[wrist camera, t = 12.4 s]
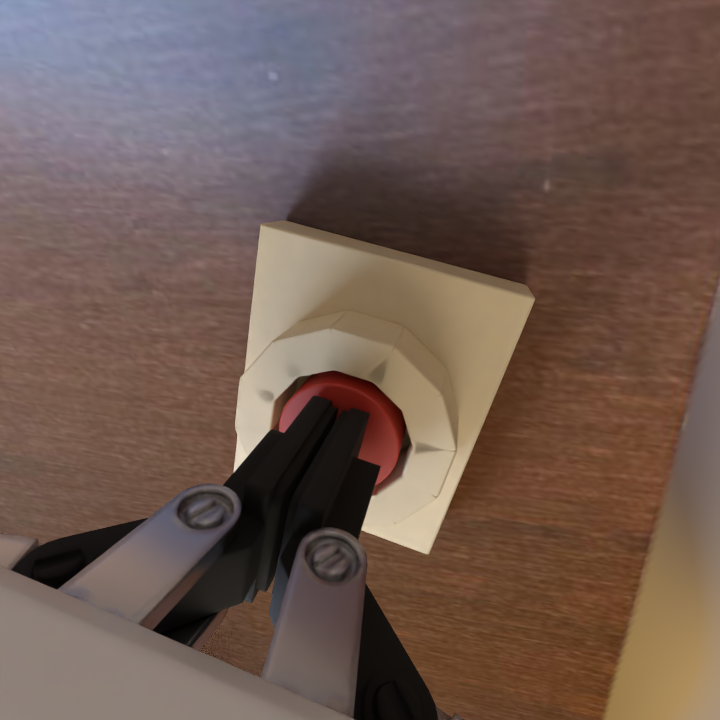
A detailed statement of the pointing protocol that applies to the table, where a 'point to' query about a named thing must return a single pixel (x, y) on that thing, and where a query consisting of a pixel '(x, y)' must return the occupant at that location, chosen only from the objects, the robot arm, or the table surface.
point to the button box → (381, 356)
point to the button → (362, 395)
